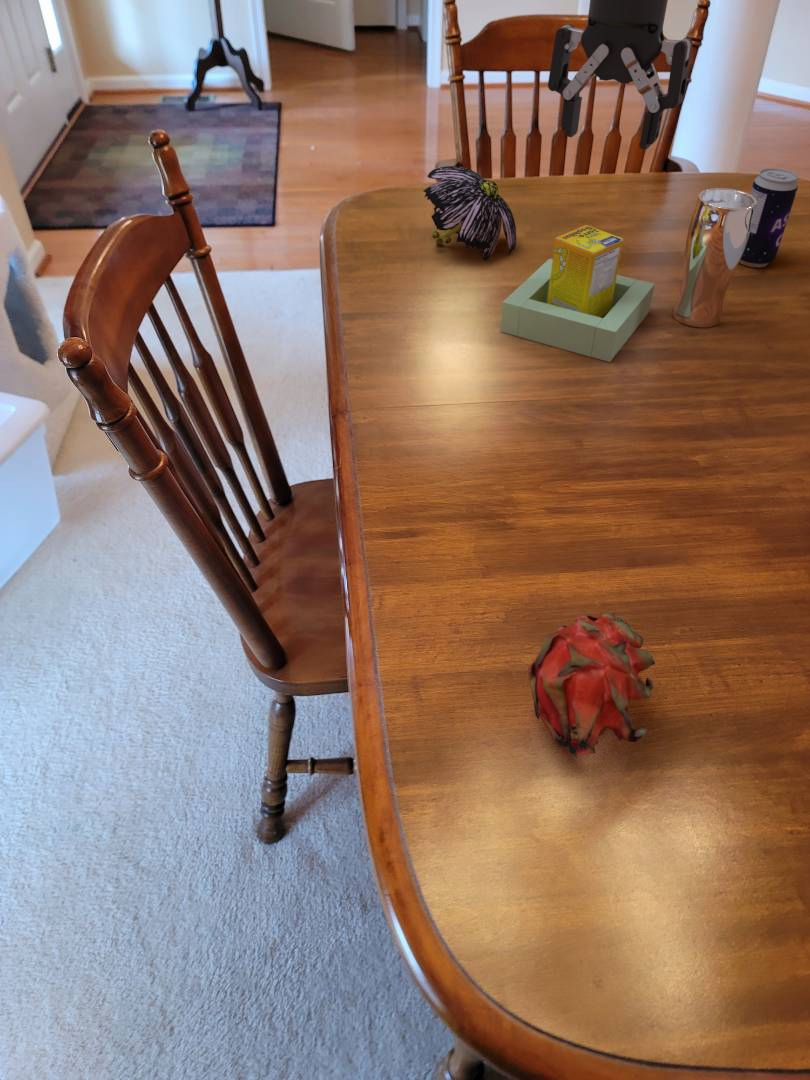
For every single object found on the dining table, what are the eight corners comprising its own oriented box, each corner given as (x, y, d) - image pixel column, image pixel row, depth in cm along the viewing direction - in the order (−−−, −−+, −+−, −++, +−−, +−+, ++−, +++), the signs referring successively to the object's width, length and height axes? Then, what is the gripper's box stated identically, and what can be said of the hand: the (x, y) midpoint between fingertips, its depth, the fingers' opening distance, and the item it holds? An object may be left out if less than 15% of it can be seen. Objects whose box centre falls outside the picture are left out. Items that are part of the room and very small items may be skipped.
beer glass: (727, 332, 104) (762, 211, 94) (670, 327, 105) (699, 207, 95) (721, 306, 109) (754, 189, 99) (667, 301, 110) (694, 185, 100)
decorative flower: (501, 207, 108) (419, 147, 112) (461, 286, 115) (385, 227, 119) (551, 206, 119) (475, 151, 123) (512, 278, 126) (441, 224, 130)
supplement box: (572, 306, 109) (585, 223, 101) (609, 322, 106) (625, 238, 98) (542, 321, 106) (553, 236, 98) (580, 338, 103) (594, 252, 95)
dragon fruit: (608, 662, 67) (568, 797, 60) (529, 602, 65) (479, 734, 58) (689, 634, 60) (655, 781, 54) (605, 566, 59) (558, 710, 52)
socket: (648, 312, 108) (655, 283, 105) (609, 362, 99) (615, 331, 96) (545, 286, 113) (549, 258, 110) (499, 331, 104) (502, 301, 101)
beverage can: (762, 273, 116) (790, 185, 108) (725, 261, 119) (749, 174, 111) (780, 260, 119) (808, 174, 111) (743, 249, 122) (767, 164, 114)
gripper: (718, -36, 80) (681, 142, 91) (579, -48, 86) (559, 122, 97) (696, -24, 76) (659, 162, 87) (550, -37, 81) (533, 140, 92)
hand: (607, 141), depth 92 cm, fingers open, 8 cm apart
